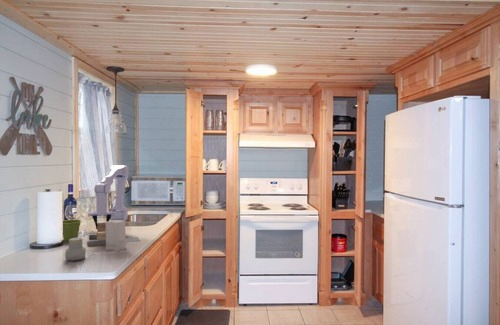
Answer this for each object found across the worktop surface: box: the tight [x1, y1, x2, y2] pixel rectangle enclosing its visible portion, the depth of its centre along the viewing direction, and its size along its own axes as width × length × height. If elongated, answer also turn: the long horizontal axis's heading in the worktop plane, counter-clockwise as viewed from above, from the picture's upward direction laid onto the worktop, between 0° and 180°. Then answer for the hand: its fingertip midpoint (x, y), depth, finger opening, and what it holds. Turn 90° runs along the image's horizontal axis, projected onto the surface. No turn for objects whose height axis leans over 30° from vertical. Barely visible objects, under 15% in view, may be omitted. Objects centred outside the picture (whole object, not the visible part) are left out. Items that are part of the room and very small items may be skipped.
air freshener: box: [64, 237, 86, 262], centre depth 178 cm, size 11×8×10 cm
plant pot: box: [62, 219, 82, 242], centre depth 217 cm, size 12×12×11 cm
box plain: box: [95, 231, 106, 240], centre depth 216 cm, size 4×4×5 cm
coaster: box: [126, 236, 141, 243], centre depth 219 cm, size 11×11×1 cm
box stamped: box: [96, 220, 106, 232], centre depth 209 cm, size 4×4×5 cm
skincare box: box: [105, 220, 127, 252], centre depth 197 cm, size 8×7×16 cm
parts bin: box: [87, 233, 106, 247], centre depth 212 cm, size 17×14×3 cm
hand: (101, 228), depth 209 cm, fingers closed on box stamped, 4 cm apart
